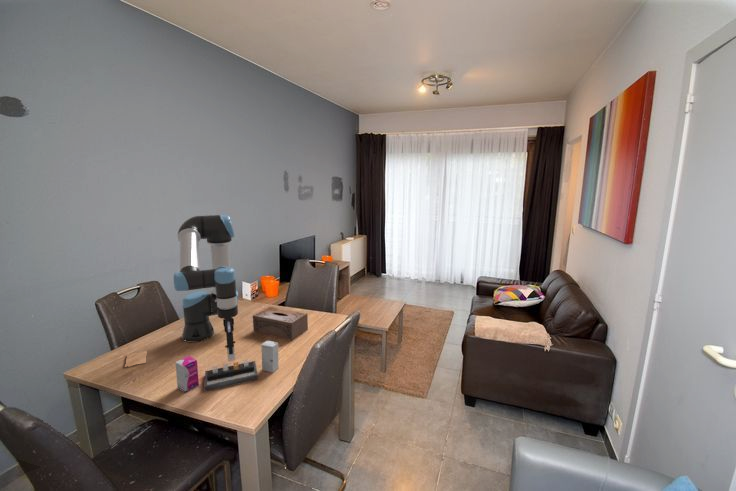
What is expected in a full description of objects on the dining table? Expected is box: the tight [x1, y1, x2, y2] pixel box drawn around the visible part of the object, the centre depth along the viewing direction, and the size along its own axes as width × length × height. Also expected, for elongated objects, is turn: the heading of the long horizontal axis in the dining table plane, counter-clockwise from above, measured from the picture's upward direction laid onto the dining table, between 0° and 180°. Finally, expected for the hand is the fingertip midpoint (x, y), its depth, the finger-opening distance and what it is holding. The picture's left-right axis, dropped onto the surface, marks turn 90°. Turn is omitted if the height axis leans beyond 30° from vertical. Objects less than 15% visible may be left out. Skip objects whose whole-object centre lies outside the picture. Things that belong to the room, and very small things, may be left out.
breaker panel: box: [203, 359, 259, 392], centre depth 136 cm, size 20×12×6 cm, turn 114°
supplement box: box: [175, 355, 200, 393], centre depth 129 cm, size 6×6×12 cm
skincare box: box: [260, 340, 280, 373], centre depth 142 cm, size 6×4×12 cm
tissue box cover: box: [252, 306, 309, 342], centre depth 180 cm, size 26×14×10 cm, turn 67°
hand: (231, 359), depth 135 cm, fingers closed
